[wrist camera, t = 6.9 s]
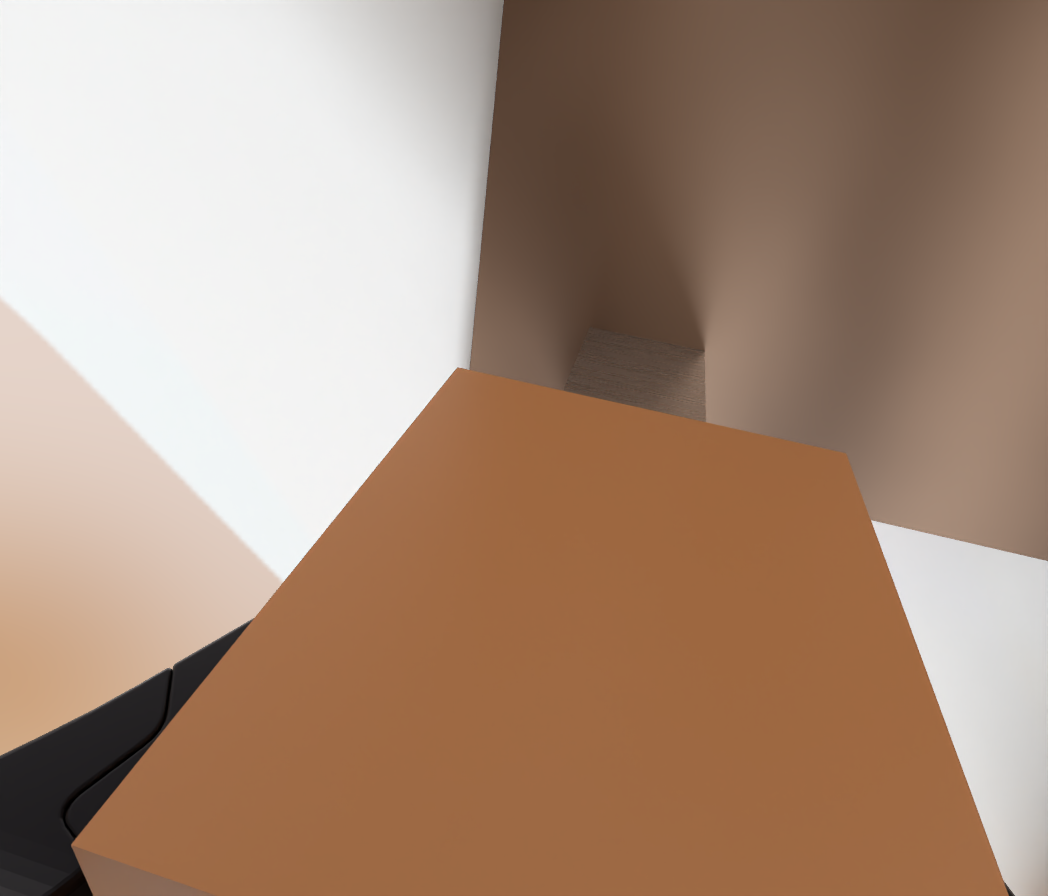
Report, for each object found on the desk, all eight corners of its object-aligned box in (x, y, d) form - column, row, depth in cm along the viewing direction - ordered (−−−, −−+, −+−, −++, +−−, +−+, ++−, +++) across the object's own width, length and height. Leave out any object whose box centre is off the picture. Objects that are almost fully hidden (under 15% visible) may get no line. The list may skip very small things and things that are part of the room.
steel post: (704, 334, 15) (707, 521, 9) (677, 430, 17) (662, 650, 10) (595, 312, 16) (525, 478, 9) (577, 407, 17) (505, 608, 11)
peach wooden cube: (845, 453, 8) (1125, 1211, 3) (727, 711, 11) (752, 1357, 6) (457, 367, 9) (71, 845, 4) (435, 630, 12) (197, 1133, 6)
